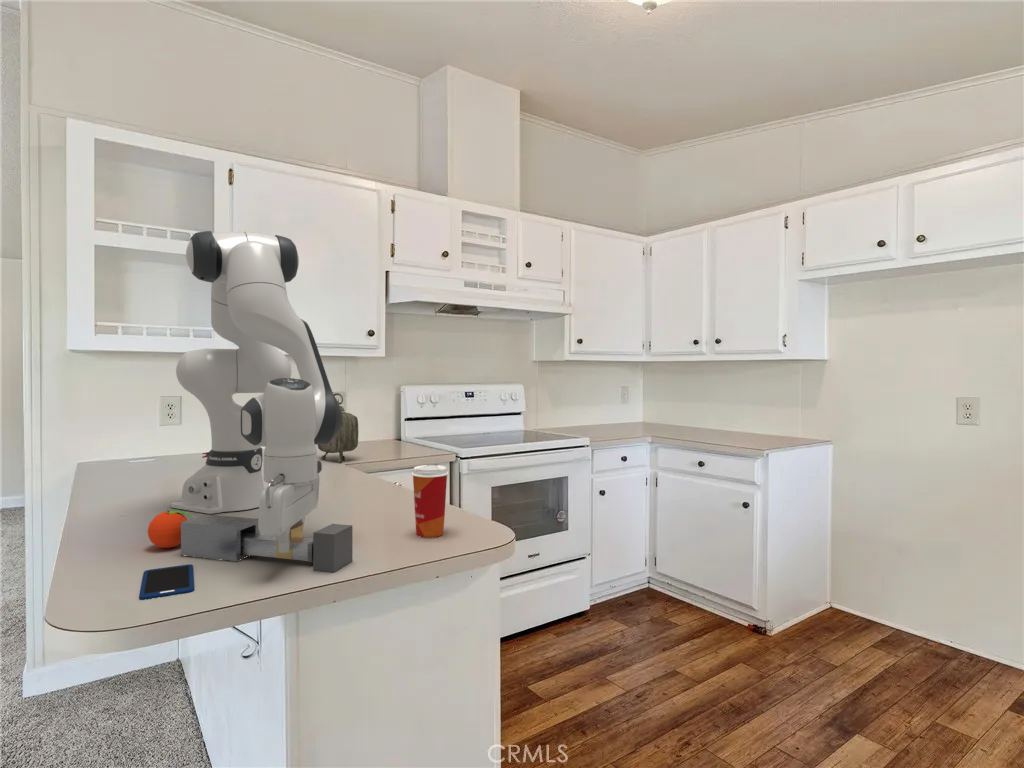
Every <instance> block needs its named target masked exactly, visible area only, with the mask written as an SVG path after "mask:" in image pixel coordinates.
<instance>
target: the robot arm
mask: <svg viewBox="0 0 1024 768" xmlns="http://www.w3.org/2000/svg"><path fill="white" fill-rule="evenodd" d="M185 258H186V262H187V265H188V268H189V270H190V271H191V275H193V277H195V278H196V279H198V280H200V281H203V282H208V283H211V289H210V291H211V292H210V294H211V295H210V313H211V314H210V320H211V321H210V324H211V326H212V329H213V331H214V332H215V333H216V334H217V335H218V336H219V337H221V338H223V339H224V340H226V341H228V342H231V343H233V344H234V345H236V346H237V348H202V349H201V348H200V349H195V350H189V351H186V352H184V353H183V354H182V355H181V356H180V358H179V360H178V361H177V364H176V368H175V369H176V370H175V374H176V378H177V381H178V383H179V385H180V386H181V387H182V388H183V389H184V390H186V391H187V392H188V393H189V394H192V395H193V396H194V397H195V398H196V399H197V400H198V401H199V402H200V403H201V404H202V406H203V407H204V409H205V411H206V413H207V416H208V419H209V426H210V434H211V435H210V436H211V437H210V438H211V449H210V450H209V451H208V452H203V453H201V455H203V456H202V457H201V458H203V459H204V458H206V460H205V465H203V466H202V467H201V468H200V469H198V471H196V472H195V473H194V474H193V475H191V476H190V477H188V478H187V479H186V480H185V481H184V483H183V485H182V491H181V498H179V499H176V500H174V501H173V502H171V503H170V508H172V509H178V510H185V511H189V512H190V511H191V512H196V513H203V514H206V515H214V514H219V513H226V512H227V513H228V512H236V511H237V512H238V511H247V510H251V509H256V508H258V518H257V519H258V530H259V534H260V535H262V536H276V539H277V541H278V551H279V552H280V553H287V552H288V551H290V550H291V548H292V546H291V544H292V540H290V538H289V533H290V527H292V526H293V525H294V524H297V525H303V527H304V526H305V522H306V516H307V515H309V514H310V513H311V512H312V511H315V509H316V508H317V506H318V502H319V497H320V496H319V495H320V477H321V476H320V474H321V473H322V472H323V462H322V459H321V460H320V459H319V458H317V447H316V445H317V446H318V445H326V444H328V443H329V442H330V441H332V440H333V439H334V438H335V437H336V436H337V434H338V433H339V432H340V430H341V428H342V423H343V418H342V412H341V409H340V406H341V405H339V404H338V402H337V401H338V400H337V398H336V395H335V396H334V394H335V393H334V392H333V390H332V387H331V385H330V382H329V378H328V374H327V372H326V370H325V366H324V363H323V360H322V356H321V354H320V352H319V351H320V350H319V347H318V346H317V343H316V342H317V341H316V340H315V337H314V334H313V332H312V329H311V328H310V325H309V324H308V322H307V321H305V320H304V319H302V318H301V317H300V316H299V315H298V314H297V313H296V312H295V310H294V309H293V306H292V305H291V302H290V300H289V297H288V293H287V286H286V283H290V282H291V281H292V280H293V279H294V278H295V277H296V276H297V273H298V270H299V266H300V265H299V264H300V257H299V253H298V250H297V246H296V244H295V243H294V241H293V240H292V239H291V238H288V237H286V236H283V235H277V234H275V235H270V234H265V233H260V232H259V233H258V232H251V231H243V232H239V231H217V232H216V231H215V232H212V231H211V230H206V231H198V232H195V233H194V234H193V235H191V237H190V239H189V242H188V244H187V245H186V251H185ZM278 349H279V350H278ZM280 350H281V351H282V352H281V351H280ZM283 352H285V353H286V354H288V356H290V358H292V360H293V361H294V363H295V366H296V368H297V369H296V370H297V371H298V374H299V378H300V379H299V378H293V377H292V365H291V363H290V361H289V358H288V357H287V356H286V355H285V354H284V353H283ZM291 377H292V378H291ZM260 393H261V395H258V396H255V397H251V398H250V399H249V400H248V401H246V403H245V404H244V405H240V404H237V403H236V402H235V401H234V399H233V395H234V394H260ZM263 447H264V450H263ZM262 466H263V472H262ZM263 481H264V482H265V483H267V486H266V488H265V487H264V482H263Z"/></svg>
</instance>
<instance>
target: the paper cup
mask: <svg viewBox="0 0 1024 768" xmlns="http://www.w3.org/2000/svg"><path fill="white" fill-rule="evenodd" d="M448 475H449V472H448V470H447V467H446V466H445V465H439V464H437V465H435V464H430V465H428V464H425V465H418V466H415V467H413V470H412V472H411V476H412V481H413V482H412V483H413V499H414V500H413V501H414V519H415V534H416V536H417V535H418V536H417V537H419V536H422V537H421V538H423V537H434V538H437V537H436V536H439V537H441V536H443V535H444V528H445V518H446V517H445V515H446V514H445V513H446V497H447V482H448ZM442 534H443V535H442ZM440 535H441V536H440Z"/></svg>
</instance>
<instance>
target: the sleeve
mask: <svg viewBox="0 0 1024 768" xmlns="http://www.w3.org/2000/svg"><path fill="white" fill-rule="evenodd" d="M240 532H247V533H258V534H260V533H259V530H258V518H252V517H251V518H250V517H240V516H227V515H216V514H203V515H200V516H197V517H193V518H190V519H187V521H184V522H181V543H180V553H181V554H180V556H181V555H186V556H194V557H193V558H195V557H205V558H213V559H212V560H214V559H222V560H221V561H223V560H231V561H230V562H232V561H238V560H240V559H242V558H244V557H246V556H249V555H246V554H241V538H240ZM186 556H185V557H186ZM249 557H250V556H249ZM244 559H245V558H244ZM242 560H243V559H242ZM240 561H241V560H240ZM238 562H239V561H238Z"/></svg>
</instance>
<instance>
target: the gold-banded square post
mask: <svg viewBox="0 0 1024 768" xmlns="http://www.w3.org/2000/svg"><path fill="white" fill-rule="evenodd" d="M303 529H304V526H303V525H297V524H294V525H293V526H292V527H290V533H289V538H290V540H292V544H291V546H292V548H291V550H290V551H288V552H287V553H280V552H279V551H278V541H277V539H276V536H262V535H260V533H259V534H258V533H247V532H240V538H241V554H246V555H251V556H258V557H267V558H275V559H286V560H294V561H295V560H296V561H305V562H309V563H310V562H312V563H313V538H311V537H304V535H303V533H304V532H303V531H304V530H303Z"/></svg>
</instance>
